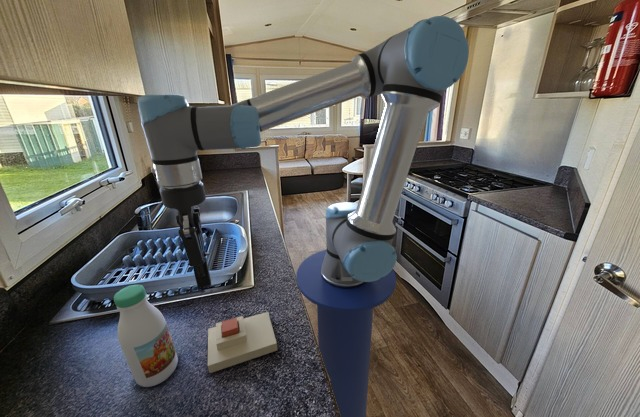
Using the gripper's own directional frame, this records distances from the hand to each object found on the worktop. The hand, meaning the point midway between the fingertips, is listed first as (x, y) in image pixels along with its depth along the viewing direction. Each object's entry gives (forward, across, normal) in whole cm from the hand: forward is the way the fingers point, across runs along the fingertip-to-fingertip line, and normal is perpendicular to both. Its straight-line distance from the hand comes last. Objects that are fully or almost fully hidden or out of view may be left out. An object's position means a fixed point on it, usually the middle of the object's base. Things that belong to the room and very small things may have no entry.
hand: (204, 284), depth 58 cm
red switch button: (+10, +5, +4) cm, 12 cm away
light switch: (+13, +6, +6) cm, 16 cm away
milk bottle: (+13, +7, -11) cm, 19 cm away
